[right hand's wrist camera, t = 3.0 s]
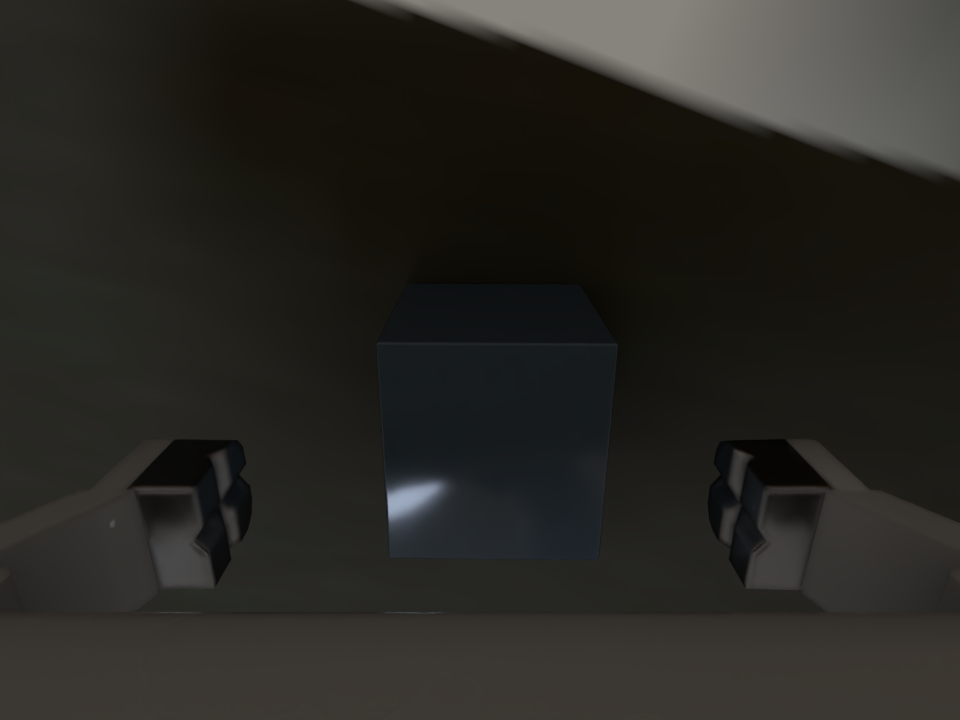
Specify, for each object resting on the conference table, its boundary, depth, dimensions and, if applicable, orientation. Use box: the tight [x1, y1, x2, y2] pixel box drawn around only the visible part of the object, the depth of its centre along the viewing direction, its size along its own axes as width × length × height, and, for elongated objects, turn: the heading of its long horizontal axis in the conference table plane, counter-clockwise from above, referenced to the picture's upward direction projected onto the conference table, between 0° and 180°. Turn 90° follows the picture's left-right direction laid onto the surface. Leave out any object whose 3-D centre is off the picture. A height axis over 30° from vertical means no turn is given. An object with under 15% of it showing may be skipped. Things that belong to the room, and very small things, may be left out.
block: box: [376, 284, 618, 560], centre depth 14 cm, size 5×4×5 cm
